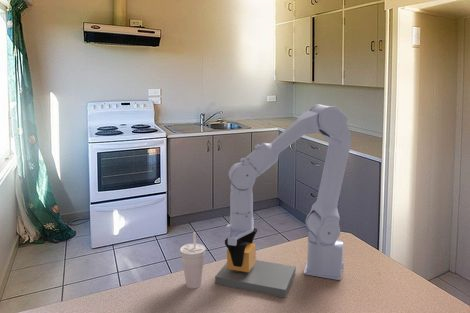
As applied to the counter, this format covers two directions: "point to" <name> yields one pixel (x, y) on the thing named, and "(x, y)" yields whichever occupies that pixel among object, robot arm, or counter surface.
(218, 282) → the flat grey tile
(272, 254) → the counter surface
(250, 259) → the amber cube
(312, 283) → the counter surface
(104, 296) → the counter surface
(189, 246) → the smoothie
